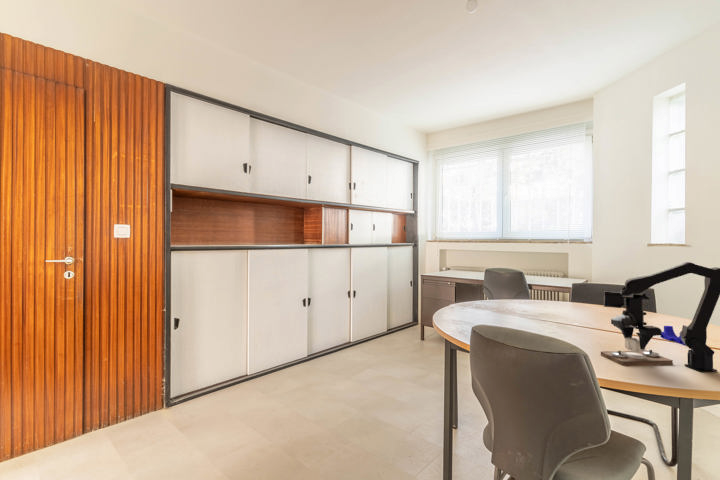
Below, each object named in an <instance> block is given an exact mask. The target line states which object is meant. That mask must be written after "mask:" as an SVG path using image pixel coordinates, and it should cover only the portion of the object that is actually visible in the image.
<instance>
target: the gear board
mask: <svg viewBox="0 0 720 480" xmlns="http://www.w3.org/2000/svg"><path fill="white" fill-rule="evenodd" d="M620 351H621V352H622V353H625V354H627V358H617V357H614V356H612V353H611V352H618V350H609V351H605V350H604V351H603V350H602V351H600V356H602V357H604V358H606V359H609V360H611V361H613V362H615V363H617V364H619V365H622V366H650V365H651V366H652V365H653V366H656V365H657V366H658V365H673V364H674V363H673V362H674V361H673V360H672V359H669V358H667V357H664V356H661V355H659V357H658V358H653V357H648V356H644V355H643V352H640V351H633V350H620ZM645 351H647V350H646V349H645Z"/></svg>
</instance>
